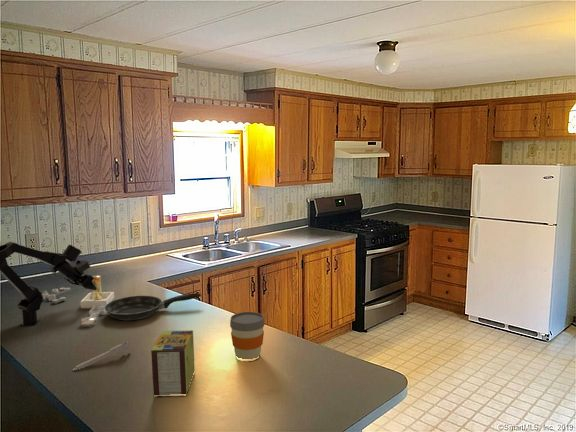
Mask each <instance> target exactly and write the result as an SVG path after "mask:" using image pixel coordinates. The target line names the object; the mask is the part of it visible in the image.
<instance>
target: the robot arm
mask: <svg viewBox="0 0 576 432" xmlns="http://www.w3.org/2000/svg"><path fill="white" fill-rule="evenodd" d="M14 253H16V254H20V255H23V256H28V257H29V258H33V259H36V260H38V261H40V262H42V263H44V264H46V265H51V266H50V273H51V274H52V273H53V274H57V272H58V273H59V274H61V275H62V277H63V280H64V281H65V282H67V283H69V284H72V285H75V286H80V287H81V288H82V289H86V290H91V291H93V290H96V289H97V288H96V287H95V285H94V284H93V282H92V280H93V279H94V277H92V276H93V275H91V274H85V273H84V272H85V271H86V270H88V269H90V268H91V265H90V263H89V261H88V260H83V259H82V260H78V258H79V256H80V255H81V254H82V253H83V252H82V250H80V249H79V248H77V247H76V246H74V245H72V244H68V245H67V247H66V249H64V251H63V253H60V252H58V253H57V252H55V251H48V250H47V251H46V250H39V249H37V248H33V247H29V246H26V245H23V244H19V243H17V242H13V241H9V242H6V243H5V244H2V245H0V274H1V275H2V276H3V277H4V279H5V280H6V281H8V283H9V284H11V286H12V287H13V288H14V289H16V291H17V292H18V294H19V297H20V298H21V300H20V302H19V303H18V304H17V308H18V309H19V310H21V316H22V322H21V323H19V326H21V327H22V326H35V325H37V324H38V323H39V322H40V321H41V320H42V319H41V318H38V311H39V310H40V309H41V306H42V305H41V304H42V303H43V301H44V299H43V296H42V295H41V294H43V293H41V292H40V290H39V289H38V287H35V286H32V285H28V284H27V283H26V282H25V281H24V280H23V279H22V278H21V276H19V275H18V274H17V273H16V271H15V270H14V269H12V267H11V266H10V265H9V263H8V261H7V258H9V257H10V256H11V255H13V254H14ZM72 262H73V263H74V264H75V265H72V264H71V263H72Z"/></svg>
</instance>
